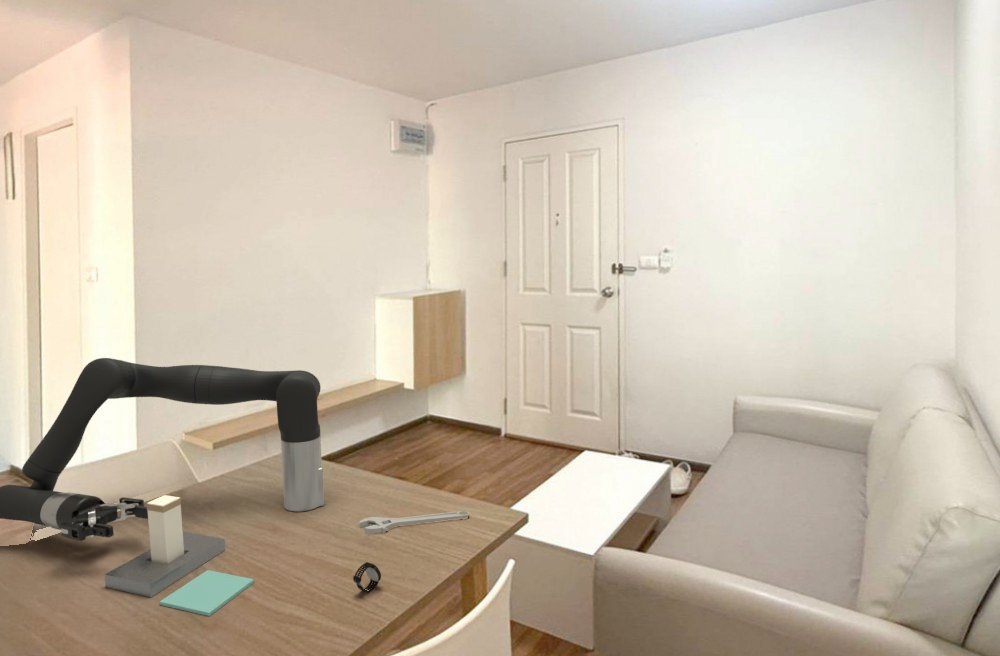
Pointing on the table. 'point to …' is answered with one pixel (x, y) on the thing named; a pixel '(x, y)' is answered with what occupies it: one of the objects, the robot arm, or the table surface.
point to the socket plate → (163, 566)
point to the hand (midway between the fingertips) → (131, 522)
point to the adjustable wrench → (405, 521)
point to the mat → (207, 592)
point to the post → (165, 529)
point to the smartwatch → (372, 574)
